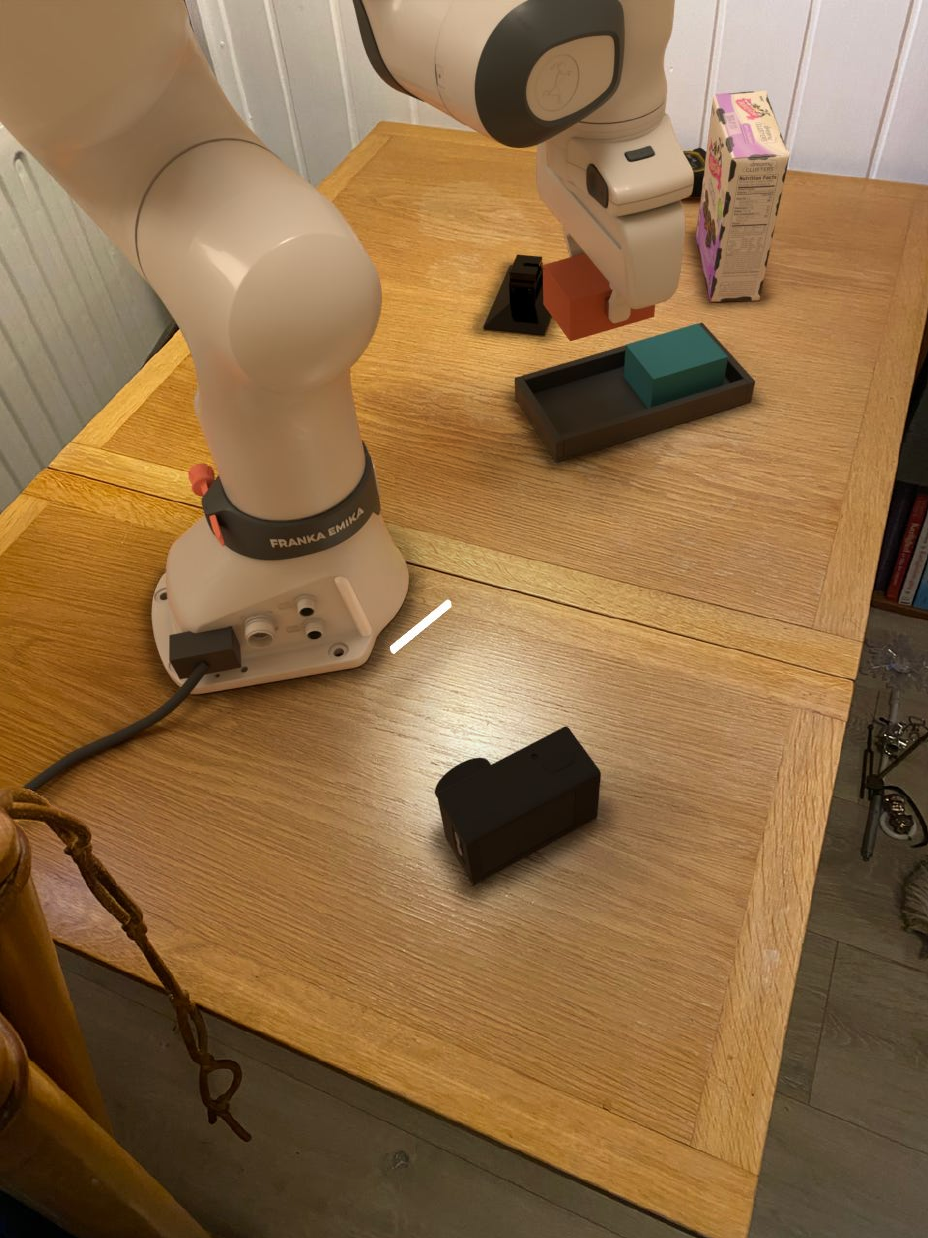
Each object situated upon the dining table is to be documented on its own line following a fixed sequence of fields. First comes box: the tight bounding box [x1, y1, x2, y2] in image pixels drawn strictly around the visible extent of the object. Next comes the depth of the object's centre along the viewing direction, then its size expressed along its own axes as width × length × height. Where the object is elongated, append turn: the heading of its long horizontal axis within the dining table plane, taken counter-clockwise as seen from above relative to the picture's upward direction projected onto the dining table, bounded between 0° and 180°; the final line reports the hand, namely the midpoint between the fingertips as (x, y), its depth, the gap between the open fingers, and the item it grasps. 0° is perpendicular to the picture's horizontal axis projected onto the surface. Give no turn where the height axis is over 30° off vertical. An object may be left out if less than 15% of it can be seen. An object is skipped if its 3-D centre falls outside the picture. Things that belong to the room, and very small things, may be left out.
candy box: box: [695, 89, 791, 303], centre depth 103 cm, size 14×6×16 cm, turn 178°
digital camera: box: [434, 725, 602, 887], centre depth 67 cm, size 10×5×7 cm, turn 118°
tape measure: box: [682, 147, 707, 199], centre depth 119 cm, size 7×7×4 cm
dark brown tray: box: [513, 322, 756, 464], centre depth 96 cm, size 21×11×3 cm, turn 110°
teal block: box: [624, 322, 728, 408], centre depth 95 cm, size 8×6×4 cm
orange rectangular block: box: [543, 253, 656, 342], centre depth 83 cm, size 8×6×4 cm
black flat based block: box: [481, 254, 553, 337], centre depth 107 cm, size 12×7×5 cm, turn 164°
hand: (598, 294), depth 83 cm, fingers closed on orange rectangular block, 6 cm apart
